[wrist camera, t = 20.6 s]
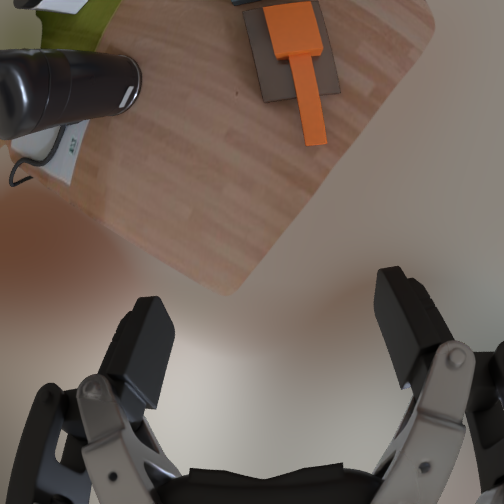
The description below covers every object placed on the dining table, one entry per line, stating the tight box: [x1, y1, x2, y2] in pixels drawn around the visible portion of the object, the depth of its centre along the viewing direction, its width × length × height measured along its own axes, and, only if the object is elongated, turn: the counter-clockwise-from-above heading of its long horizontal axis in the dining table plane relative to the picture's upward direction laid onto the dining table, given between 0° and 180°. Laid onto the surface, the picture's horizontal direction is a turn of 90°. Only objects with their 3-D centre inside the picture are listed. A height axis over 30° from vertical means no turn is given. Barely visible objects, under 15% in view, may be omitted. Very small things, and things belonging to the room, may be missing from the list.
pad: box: [243, 1, 341, 103], centre depth 26 cm, size 9×12×2 cm
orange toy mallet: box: [263, 1, 327, 146], centre depth 25 cm, size 5×16×4 cm, turn 12°
